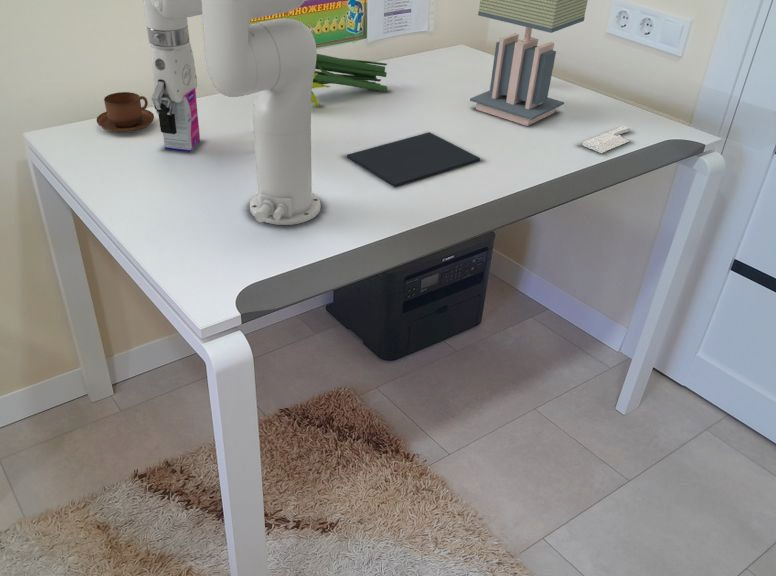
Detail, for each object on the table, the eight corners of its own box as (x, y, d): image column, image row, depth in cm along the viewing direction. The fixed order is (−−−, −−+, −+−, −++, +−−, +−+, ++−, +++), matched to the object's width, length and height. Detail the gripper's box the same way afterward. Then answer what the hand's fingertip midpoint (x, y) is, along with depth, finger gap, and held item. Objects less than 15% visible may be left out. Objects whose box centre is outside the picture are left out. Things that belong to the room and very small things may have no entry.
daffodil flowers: (403, 105, 173) (276, 88, 153) (367, 120, 185) (244, 107, 165) (398, 33, 172) (270, 7, 152) (362, 53, 184) (238, 31, 164)
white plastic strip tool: (641, 136, 159) (643, 131, 158) (601, 153, 152) (602, 148, 151) (622, 129, 162) (623, 124, 161) (581, 145, 155) (582, 140, 154)
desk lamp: (466, 108, 171) (484, -48, 150) (499, 93, 179) (521, -56, 158) (532, 129, 161) (562, -34, 141) (565, 113, 169) (597, -43, 149)
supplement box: (191, 153, 147) (184, 96, 140) (164, 150, 148) (155, 94, 141) (201, 142, 151) (195, 87, 144) (175, 139, 152) (167, 84, 145)
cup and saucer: (119, 113, 163) (114, 85, 159) (165, 120, 160) (161, 92, 156) (86, 132, 154) (80, 103, 150) (135, 140, 151) (130, 111, 147)
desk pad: (395, 187, 137) (395, 184, 137) (346, 157, 147) (346, 154, 147) (479, 160, 147) (480, 158, 147) (429, 134, 157) (429, 132, 157)
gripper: (166, 51, 129) (178, 142, 140) (205, 25, 142) (213, 110, 153) (128, 46, 130) (142, 137, 141) (170, 21, 143) (180, 106, 154)
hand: (179, 123), depth 147 cm, fingers open, 9 cm apart
